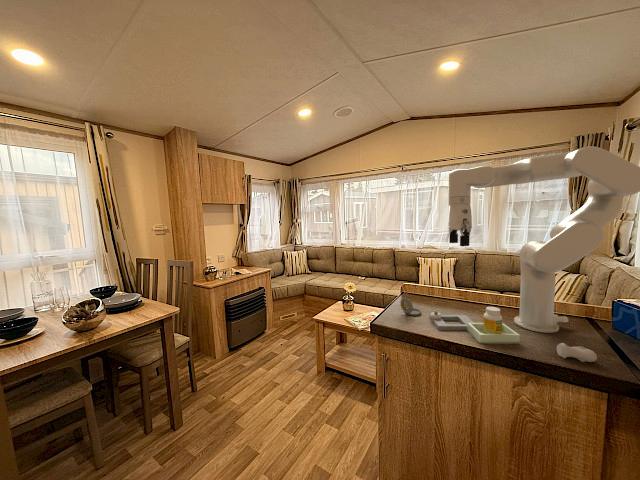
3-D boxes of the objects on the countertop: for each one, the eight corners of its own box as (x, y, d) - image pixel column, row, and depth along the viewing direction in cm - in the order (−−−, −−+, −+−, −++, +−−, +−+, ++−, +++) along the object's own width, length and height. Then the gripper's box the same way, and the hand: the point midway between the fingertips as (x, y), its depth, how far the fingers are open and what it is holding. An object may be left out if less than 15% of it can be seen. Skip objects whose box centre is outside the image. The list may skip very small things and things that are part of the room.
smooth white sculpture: (592, 362, 71) (599, 366, 67) (554, 354, 75) (559, 358, 71) (592, 347, 72) (599, 350, 67) (554, 340, 76) (559, 342, 72)
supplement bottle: (487, 330, 89) (488, 304, 88) (504, 336, 84) (505, 309, 83) (480, 334, 86) (480, 308, 85) (497, 340, 82) (498, 313, 81)
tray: (502, 330, 89) (502, 322, 89) (519, 343, 80) (519, 335, 80) (467, 330, 91) (467, 322, 90) (480, 343, 82) (480, 334, 81)
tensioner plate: (465, 318, 100) (465, 309, 100) (478, 330, 91) (478, 319, 90) (428, 318, 102) (428, 309, 102) (437, 329, 92) (437, 319, 92)
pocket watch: (422, 311, 109) (422, 289, 108) (418, 319, 102) (418, 295, 101) (403, 308, 114) (403, 287, 113) (398, 315, 107) (398, 293, 106)
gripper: (481, 200, 89) (480, 247, 90) (459, 202, 106) (458, 241, 107) (459, 201, 89) (458, 247, 91) (441, 203, 107) (440, 242, 108)
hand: (458, 244), depth 99 cm, fingers open, 9 cm apart
